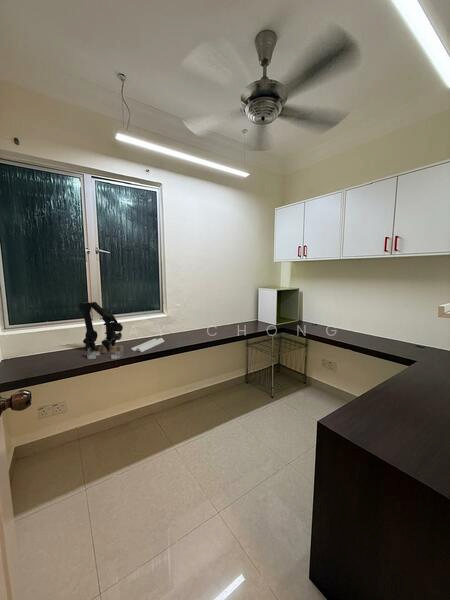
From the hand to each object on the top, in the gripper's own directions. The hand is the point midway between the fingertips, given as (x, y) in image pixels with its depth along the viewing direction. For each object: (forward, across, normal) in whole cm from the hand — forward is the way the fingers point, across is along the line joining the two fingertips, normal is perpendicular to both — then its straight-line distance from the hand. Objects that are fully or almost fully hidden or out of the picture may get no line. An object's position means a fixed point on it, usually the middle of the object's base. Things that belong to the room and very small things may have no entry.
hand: (111, 349), depth 199 cm
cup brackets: (+2, -10, 0) cm, 10 cm away
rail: (+3, 0, 0) cm, 3 cm away
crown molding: (+3, +17, -25) cm, 31 cm away
